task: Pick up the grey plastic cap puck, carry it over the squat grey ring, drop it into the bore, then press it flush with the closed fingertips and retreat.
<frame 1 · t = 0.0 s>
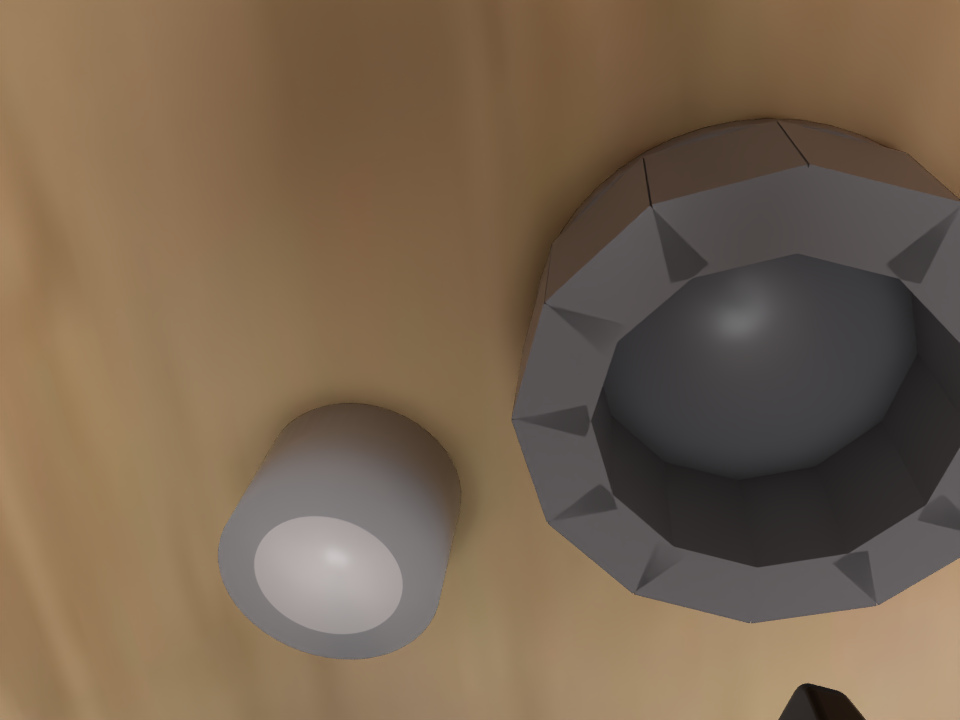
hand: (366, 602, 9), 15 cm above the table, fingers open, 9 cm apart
grey ring: (745, 333, 23), on the table
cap: (363, 486, 27), on the table
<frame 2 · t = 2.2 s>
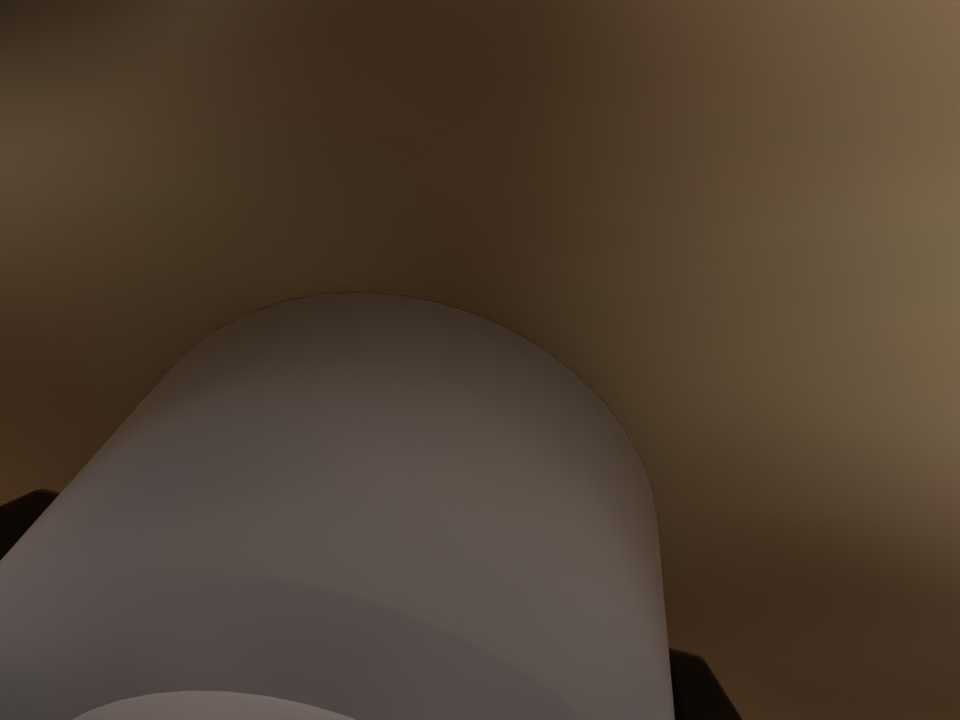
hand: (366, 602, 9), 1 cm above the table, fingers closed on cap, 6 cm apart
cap: (387, 536, 10), on the table, touching gripper
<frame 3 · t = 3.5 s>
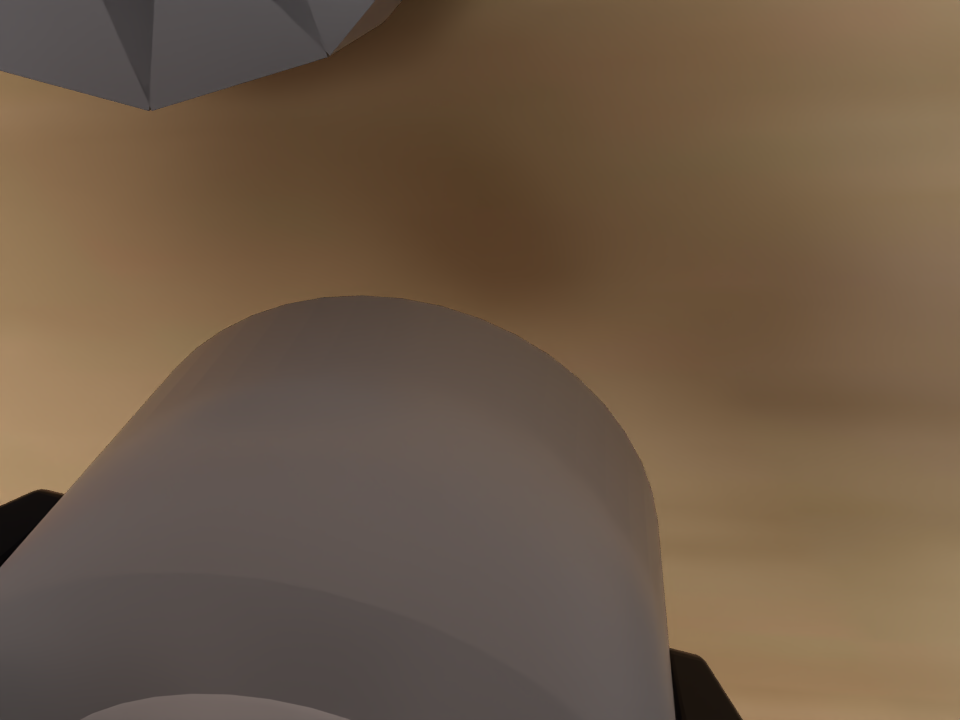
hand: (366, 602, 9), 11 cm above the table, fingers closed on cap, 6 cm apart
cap: (389, 538, 10), point 10 cm above the table, touching gripper
when the fingers open (6 cm above the table, at t = 5.2 s): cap drops 4 cm, resting on grey ring.
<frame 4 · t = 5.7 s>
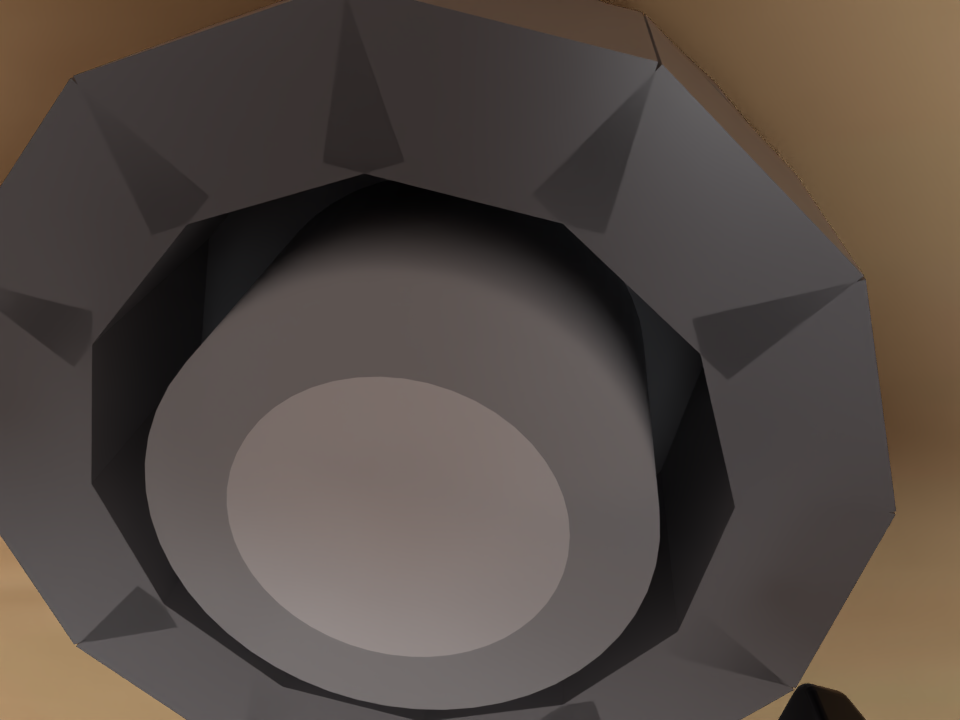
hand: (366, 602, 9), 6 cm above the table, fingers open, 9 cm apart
grey ring: (452, 330, 15), on the table
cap: (448, 363, 14), point 1 cm above the table, touching grey ring
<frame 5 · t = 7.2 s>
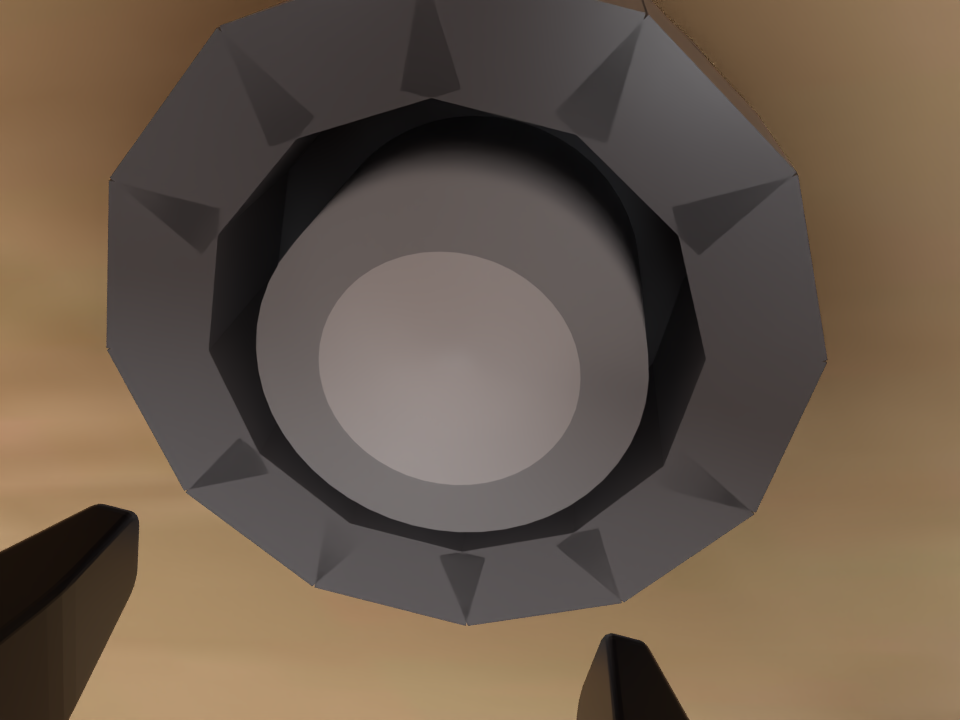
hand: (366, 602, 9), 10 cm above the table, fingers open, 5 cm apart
grey ring: (482, 250, 18), on the table
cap: (479, 274, 17), point 1 cm above the table, touching grey ring
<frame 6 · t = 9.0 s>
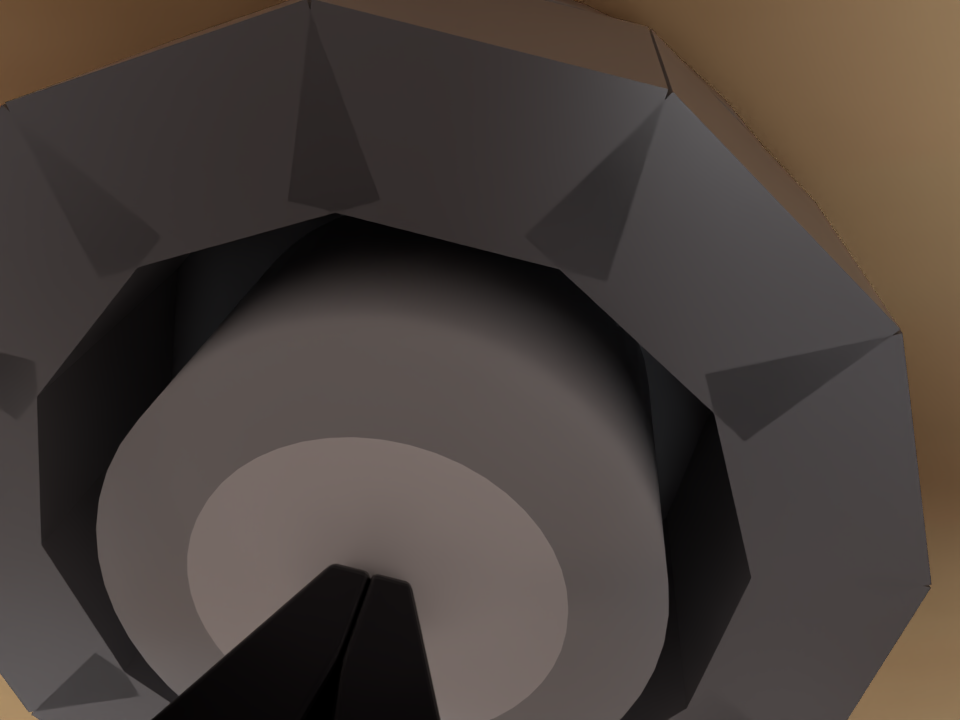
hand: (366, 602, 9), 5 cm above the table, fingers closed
grey ring: (442, 364, 14), on the table
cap: (436, 403, 13), point 1 cm above the table, touching grey ring
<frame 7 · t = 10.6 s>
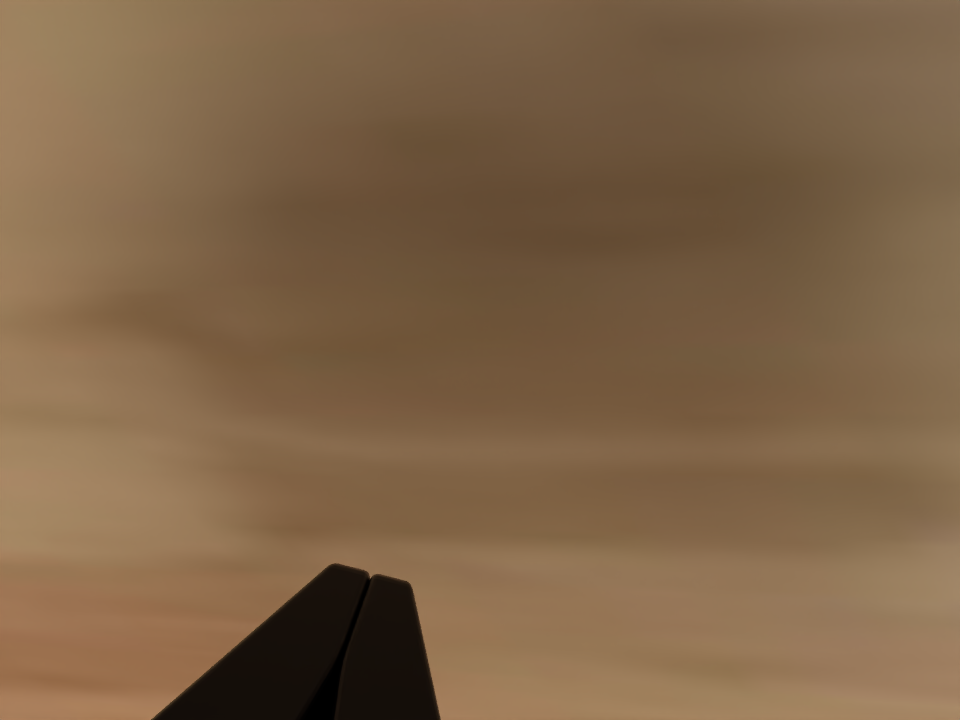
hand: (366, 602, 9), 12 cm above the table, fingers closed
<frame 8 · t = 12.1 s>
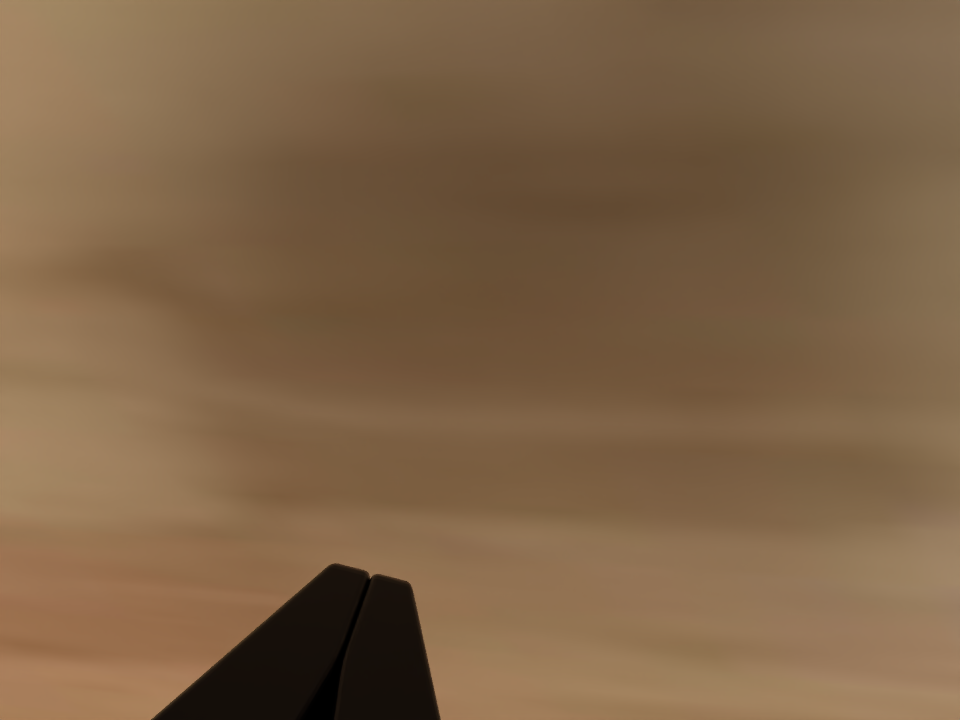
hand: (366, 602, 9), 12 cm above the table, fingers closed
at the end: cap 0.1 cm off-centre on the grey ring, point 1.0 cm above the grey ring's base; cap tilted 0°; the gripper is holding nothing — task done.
